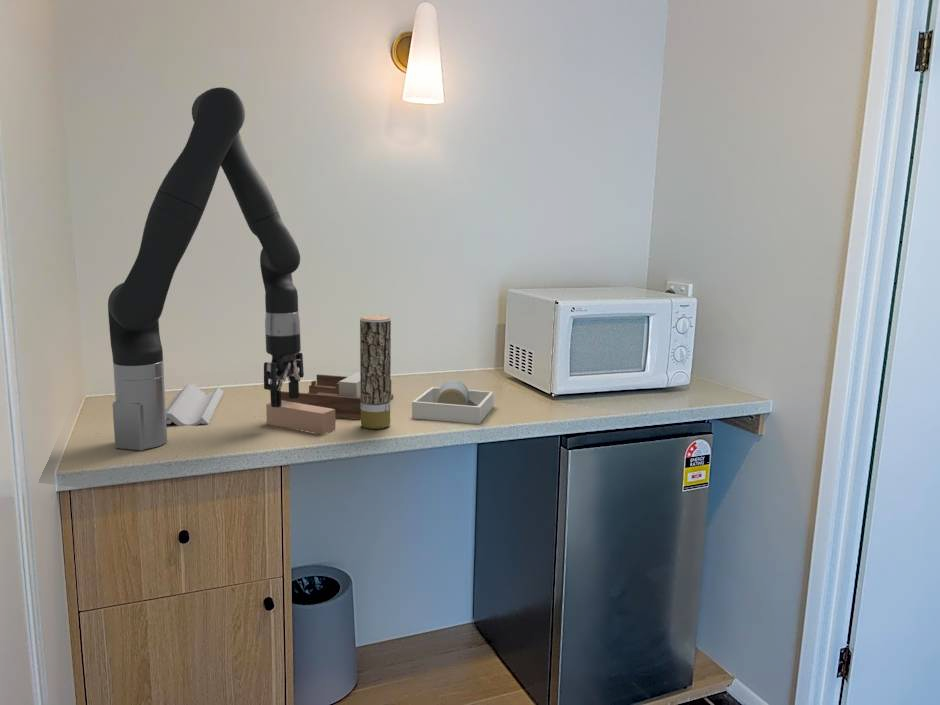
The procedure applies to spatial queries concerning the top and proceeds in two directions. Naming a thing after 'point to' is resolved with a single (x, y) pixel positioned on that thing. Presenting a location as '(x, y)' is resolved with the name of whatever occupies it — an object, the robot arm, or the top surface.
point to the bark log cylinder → (375, 371)
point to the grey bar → (350, 386)
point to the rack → (328, 397)
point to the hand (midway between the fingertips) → (285, 402)
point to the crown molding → (192, 406)
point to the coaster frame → (452, 407)
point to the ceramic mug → (454, 394)
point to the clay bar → (301, 417)
